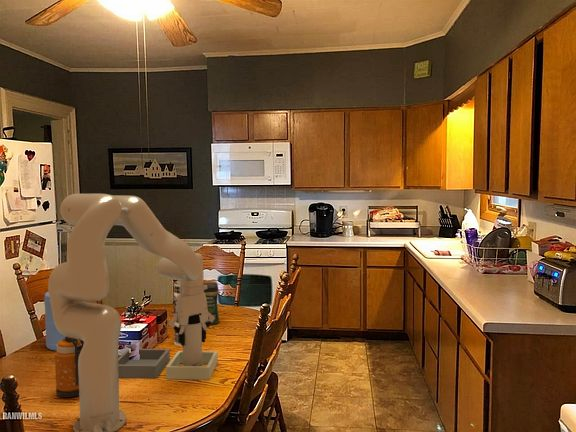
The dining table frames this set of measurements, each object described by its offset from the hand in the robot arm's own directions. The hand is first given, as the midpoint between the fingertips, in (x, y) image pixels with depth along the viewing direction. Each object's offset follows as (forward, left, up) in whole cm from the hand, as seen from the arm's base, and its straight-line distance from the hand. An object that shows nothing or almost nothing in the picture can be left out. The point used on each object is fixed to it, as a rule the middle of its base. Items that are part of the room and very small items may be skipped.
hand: (192, 342), depth 149 cm
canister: (+1, +36, -10) cm, 37 cm away
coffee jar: (+48, -21, -10) cm, 53 cm away
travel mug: (0, 0, -10) cm, 10 cm away
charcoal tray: (+10, +15, -10) cm, 20 cm away
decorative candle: (+28, -5, -10) cm, 30 cm away
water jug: (+48, +36, -10) cm, 61 cm away
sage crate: (0, 0, -10) cm, 10 cm away
